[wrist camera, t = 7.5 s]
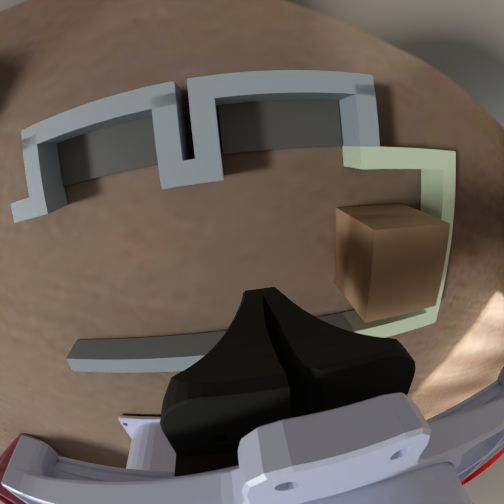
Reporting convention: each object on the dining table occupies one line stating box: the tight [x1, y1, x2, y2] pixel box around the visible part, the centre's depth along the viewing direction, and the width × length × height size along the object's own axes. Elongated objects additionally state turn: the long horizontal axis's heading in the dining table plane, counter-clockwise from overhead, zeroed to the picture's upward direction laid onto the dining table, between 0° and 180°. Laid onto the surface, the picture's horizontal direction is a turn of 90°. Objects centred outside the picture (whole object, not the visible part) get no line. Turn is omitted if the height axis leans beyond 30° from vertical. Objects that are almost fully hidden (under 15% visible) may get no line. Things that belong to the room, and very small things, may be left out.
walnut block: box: [334, 204, 450, 323], centre depth 15 cm, size 5×5×5 cm
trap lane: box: [11, 70, 456, 373], centre depth 15 cm, size 16×27×2 cm, turn 96°
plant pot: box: [0, 434, 64, 504], centre depth 19 cm, size 14×14×13 cm
